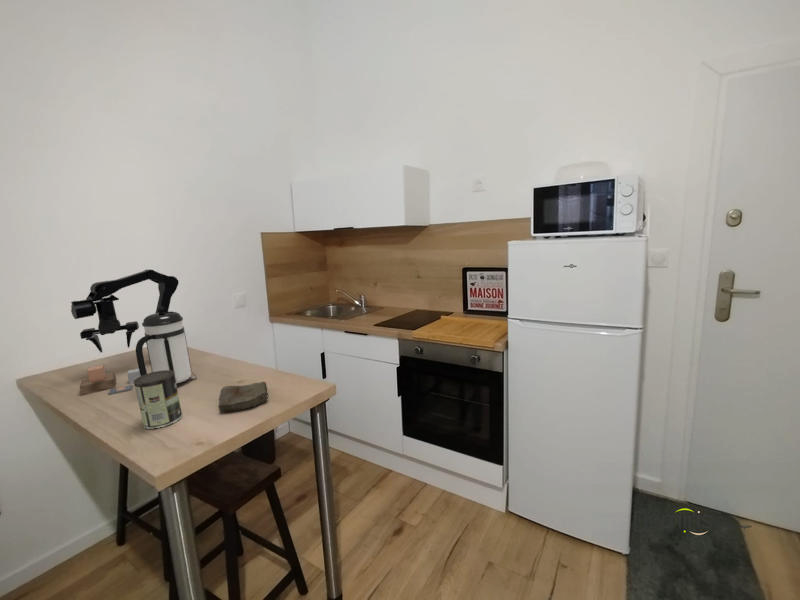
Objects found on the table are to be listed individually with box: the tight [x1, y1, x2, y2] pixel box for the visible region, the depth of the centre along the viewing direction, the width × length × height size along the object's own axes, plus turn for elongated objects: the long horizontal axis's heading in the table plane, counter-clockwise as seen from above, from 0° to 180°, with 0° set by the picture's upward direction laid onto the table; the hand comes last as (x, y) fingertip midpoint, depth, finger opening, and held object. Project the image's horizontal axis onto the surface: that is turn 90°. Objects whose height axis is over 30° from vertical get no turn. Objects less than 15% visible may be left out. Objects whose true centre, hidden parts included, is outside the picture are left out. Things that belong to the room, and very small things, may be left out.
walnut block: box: [79, 371, 118, 397], centre depth 146 cm, size 10×10×4 cm
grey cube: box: [126, 368, 141, 385], centre depth 150 cm, size 4×4×4 cm
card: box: [107, 384, 134, 396], centre depth 141 cm, size 7×5×1 cm
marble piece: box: [218, 381, 269, 413], centre depth 124 cm, size 17×15×4 cm
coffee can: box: [133, 370, 183, 430], centre depth 113 cm, size 10×10×14 cm
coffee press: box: [135, 306, 197, 386], centre depth 140 cm, size 17×16×30 cm
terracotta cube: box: [86, 364, 107, 382], centre depth 145 cm, size 4×4×4 cm
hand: (115, 349), depth 157 cm, fingers open, 9 cm apart
